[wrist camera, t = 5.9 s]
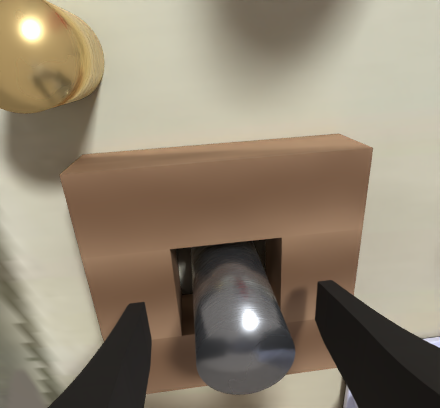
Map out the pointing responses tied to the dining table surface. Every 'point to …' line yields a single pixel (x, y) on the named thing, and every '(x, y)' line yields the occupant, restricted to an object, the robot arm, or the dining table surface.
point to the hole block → (218, 232)
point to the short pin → (45, 56)
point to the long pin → (237, 320)
